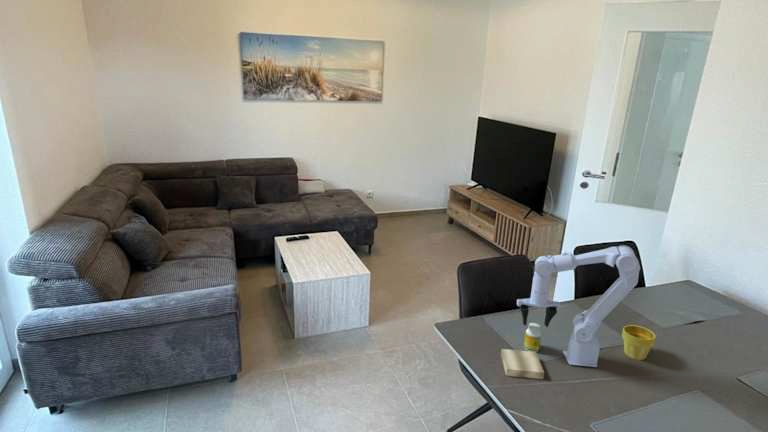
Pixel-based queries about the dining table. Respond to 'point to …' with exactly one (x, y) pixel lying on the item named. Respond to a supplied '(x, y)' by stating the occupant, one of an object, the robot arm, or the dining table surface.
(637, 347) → the plant pot
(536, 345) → the supplement bottle
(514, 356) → the oak riser
